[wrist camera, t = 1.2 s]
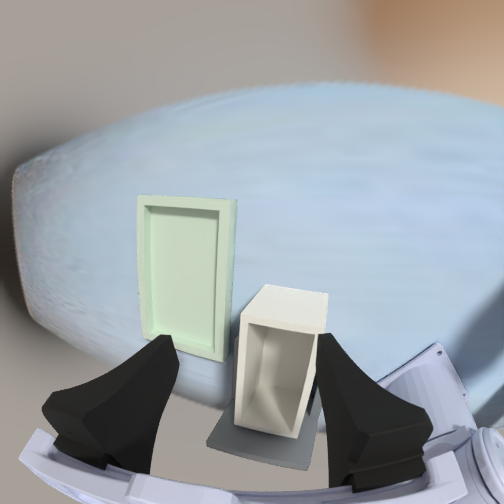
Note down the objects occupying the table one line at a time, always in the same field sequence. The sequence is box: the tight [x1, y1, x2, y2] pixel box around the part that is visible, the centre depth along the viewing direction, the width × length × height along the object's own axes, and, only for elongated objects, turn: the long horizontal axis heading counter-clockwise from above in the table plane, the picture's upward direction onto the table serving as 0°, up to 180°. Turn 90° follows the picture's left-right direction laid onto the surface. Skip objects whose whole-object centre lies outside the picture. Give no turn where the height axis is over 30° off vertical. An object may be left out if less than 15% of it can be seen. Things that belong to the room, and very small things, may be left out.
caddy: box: [234, 284, 329, 439], centre depth 19 cm, size 10×5×6 cm, turn 175°
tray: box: [137, 195, 238, 363], centre depth 23 cm, size 14×9×2 cm, turn 175°
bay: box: [206, 334, 322, 471], centre depth 19 cm, size 7×8×8 cm
